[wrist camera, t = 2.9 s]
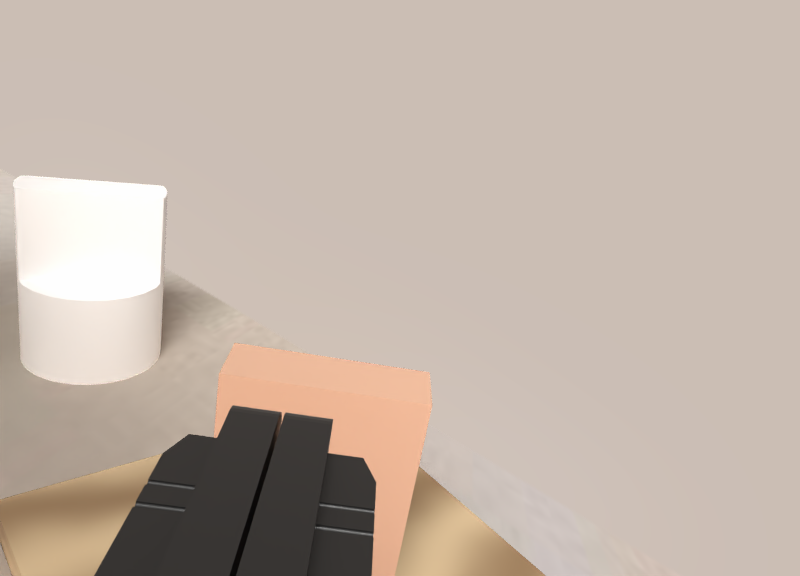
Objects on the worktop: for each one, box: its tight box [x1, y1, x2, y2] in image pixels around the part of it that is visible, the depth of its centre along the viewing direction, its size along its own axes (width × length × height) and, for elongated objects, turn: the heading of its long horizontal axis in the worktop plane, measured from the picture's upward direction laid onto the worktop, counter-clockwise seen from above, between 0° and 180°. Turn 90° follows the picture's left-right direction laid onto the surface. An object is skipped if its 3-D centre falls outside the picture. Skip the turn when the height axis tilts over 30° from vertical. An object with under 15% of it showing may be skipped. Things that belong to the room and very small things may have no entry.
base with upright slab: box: [13, 175, 168, 385], centre depth 45 cm, size 9×9×12 cm
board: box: [0, 454, 545, 576], centre depth 31 cm, size 18×20×2 cm
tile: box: [214, 343, 432, 576], centre depth 25 cm, size 2×7×12 cm, turn 90°
